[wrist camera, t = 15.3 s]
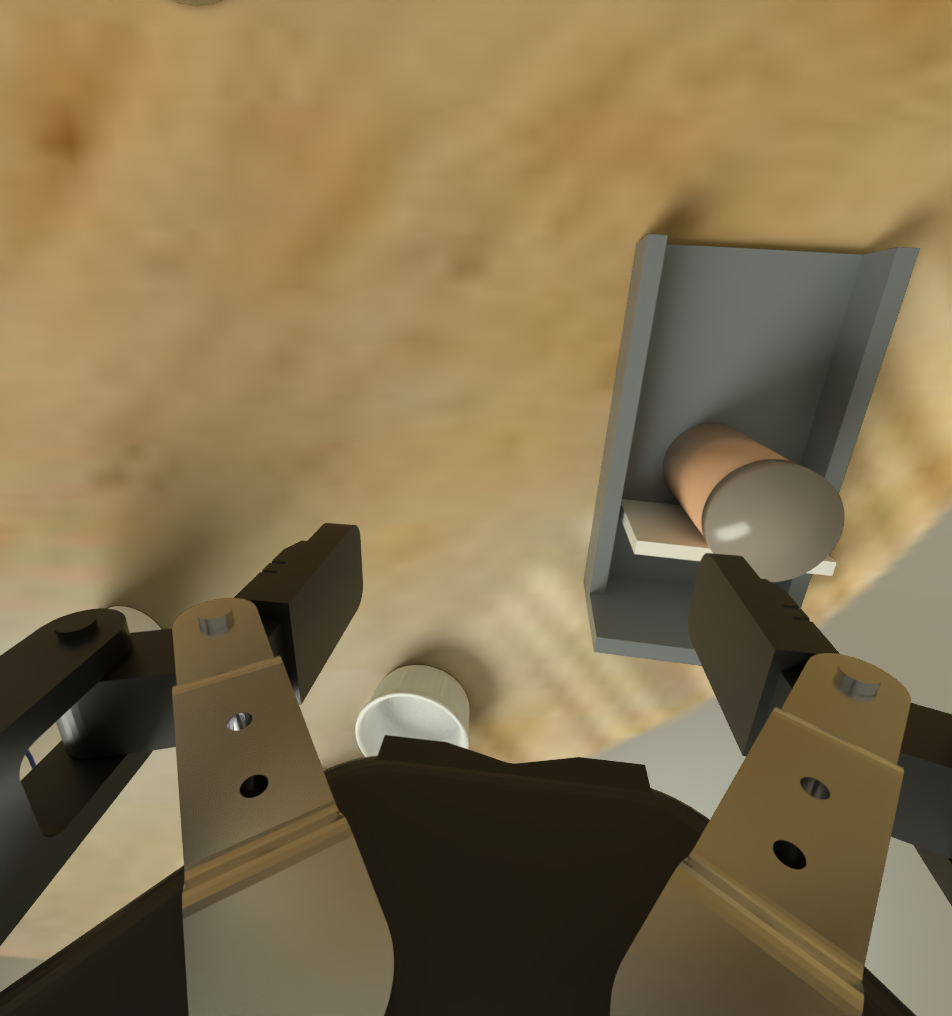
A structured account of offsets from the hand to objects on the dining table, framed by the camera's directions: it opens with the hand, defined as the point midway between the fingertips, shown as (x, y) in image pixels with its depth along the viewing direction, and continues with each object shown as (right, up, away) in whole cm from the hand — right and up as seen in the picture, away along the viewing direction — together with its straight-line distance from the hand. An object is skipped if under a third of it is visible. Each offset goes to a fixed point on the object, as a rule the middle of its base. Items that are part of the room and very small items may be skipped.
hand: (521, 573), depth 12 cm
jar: (+14, +4, +21) cm, 25 cm away
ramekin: (-5, -15, +31) cm, 35 cm away
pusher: (+14, +1, +22) cm, 26 cm away
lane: (+14, +6, +21) cm, 26 cm away
